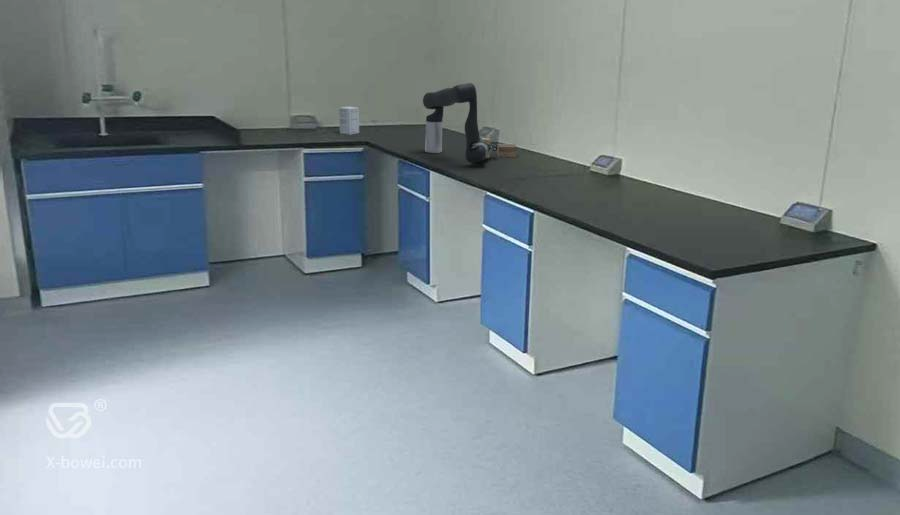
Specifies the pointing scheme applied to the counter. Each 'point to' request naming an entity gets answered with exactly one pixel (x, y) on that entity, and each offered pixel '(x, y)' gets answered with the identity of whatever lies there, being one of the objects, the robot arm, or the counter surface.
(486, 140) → the oak block
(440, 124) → the robot arm
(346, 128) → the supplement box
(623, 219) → the counter surface
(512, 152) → the walnut base
